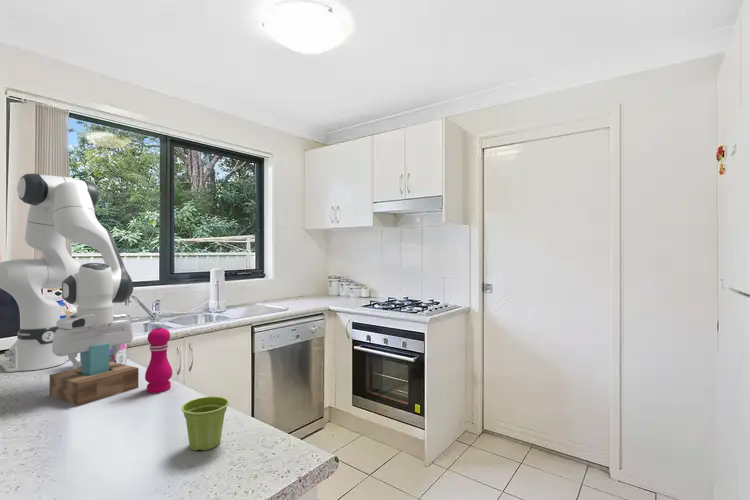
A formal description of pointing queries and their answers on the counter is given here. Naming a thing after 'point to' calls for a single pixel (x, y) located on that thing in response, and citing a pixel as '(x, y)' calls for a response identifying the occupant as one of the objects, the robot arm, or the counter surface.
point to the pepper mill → (158, 361)
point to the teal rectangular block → (95, 360)
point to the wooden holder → (93, 384)
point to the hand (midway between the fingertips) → (95, 364)
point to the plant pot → (205, 421)
